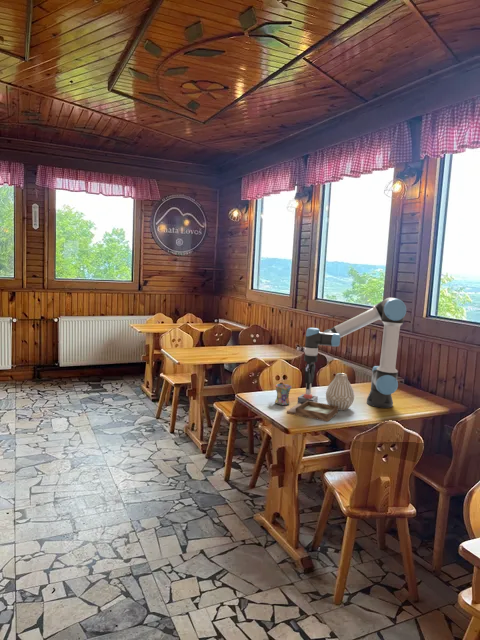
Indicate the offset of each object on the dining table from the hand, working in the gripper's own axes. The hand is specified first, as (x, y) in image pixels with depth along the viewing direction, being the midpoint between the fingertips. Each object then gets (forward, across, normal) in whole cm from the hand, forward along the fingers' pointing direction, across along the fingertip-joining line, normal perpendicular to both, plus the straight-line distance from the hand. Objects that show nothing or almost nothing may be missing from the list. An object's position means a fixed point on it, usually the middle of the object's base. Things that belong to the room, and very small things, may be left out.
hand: (308, 394), depth 273 cm
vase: (+6, -3, +18) cm, 19 cm away
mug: (+6, +9, -13) cm, 17 cm away
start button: (+4, 0, 0) cm, 4 cm away
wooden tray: (+6, +16, +8) cm, 19 cm away
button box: (+6, 0, 0) cm, 6 cm away
